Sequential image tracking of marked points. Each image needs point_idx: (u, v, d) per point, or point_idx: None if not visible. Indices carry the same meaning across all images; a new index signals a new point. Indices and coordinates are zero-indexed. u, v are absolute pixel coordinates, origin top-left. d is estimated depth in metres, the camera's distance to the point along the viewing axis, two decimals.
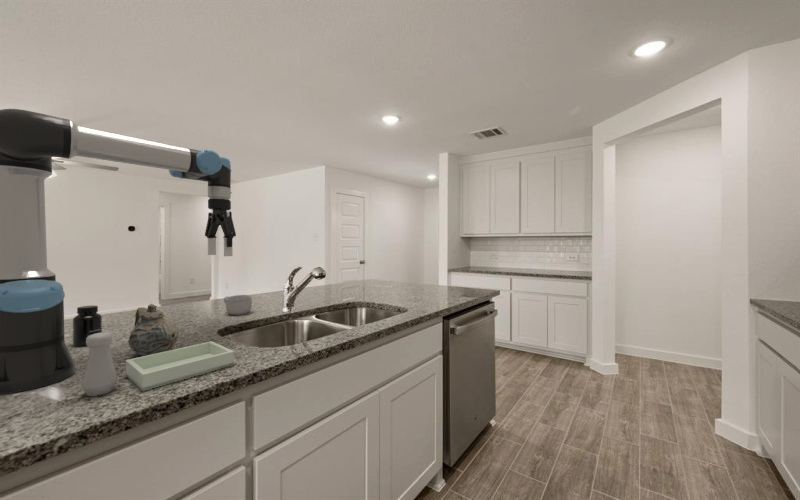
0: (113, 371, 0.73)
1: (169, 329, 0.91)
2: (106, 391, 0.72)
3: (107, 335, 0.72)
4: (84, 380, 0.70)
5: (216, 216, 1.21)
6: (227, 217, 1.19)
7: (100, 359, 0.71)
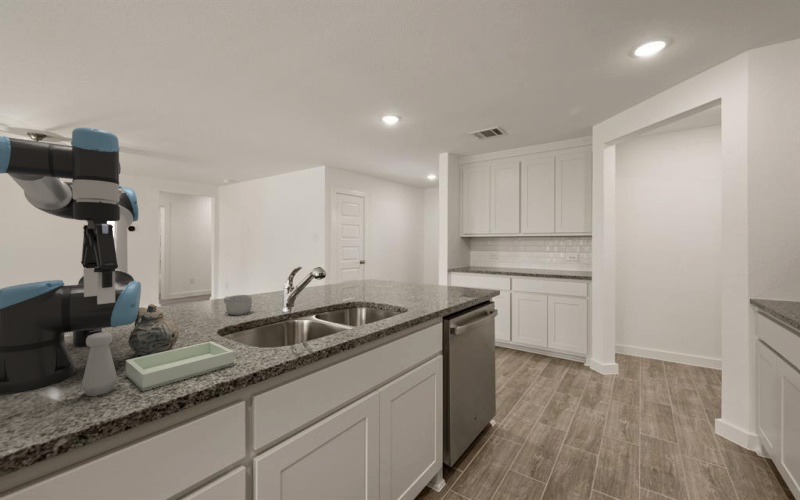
0: (113, 371, 0.73)
1: (169, 329, 0.91)
2: (106, 391, 0.72)
3: (107, 335, 0.73)
4: (84, 380, 0.70)
5: (87, 233, 0.69)
6: (103, 235, 0.67)
7: (100, 359, 0.71)
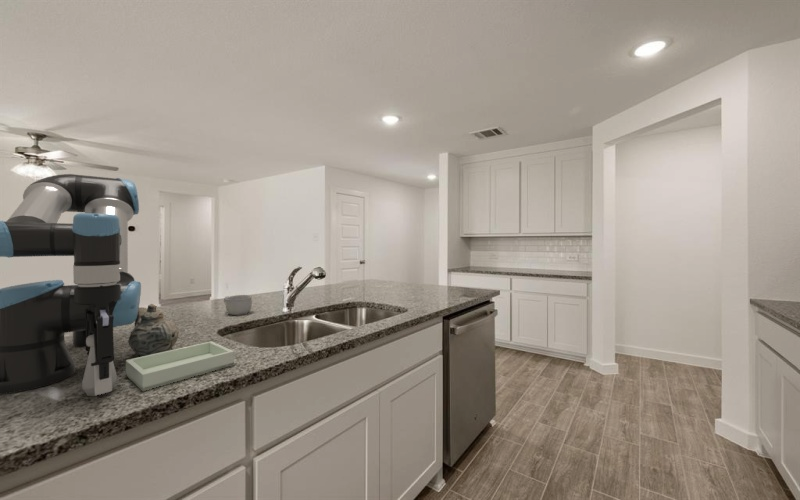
0: (113, 371, 0.73)
1: (169, 329, 0.91)
2: None
3: None
4: (84, 380, 0.70)
5: (88, 318, 0.70)
6: (103, 328, 0.68)
7: None
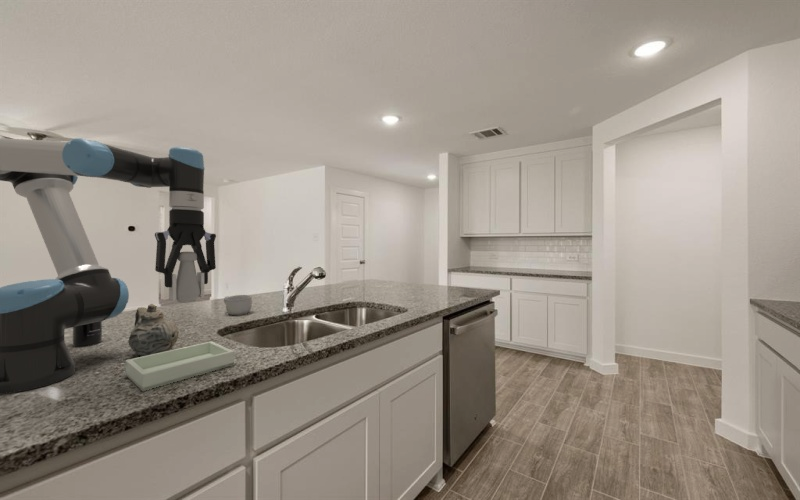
0: (184, 286, 0.84)
1: (169, 329, 0.91)
2: (179, 300, 0.84)
3: (183, 253, 0.84)
4: None
5: None
6: (158, 242, 0.81)
7: (178, 272, 0.84)
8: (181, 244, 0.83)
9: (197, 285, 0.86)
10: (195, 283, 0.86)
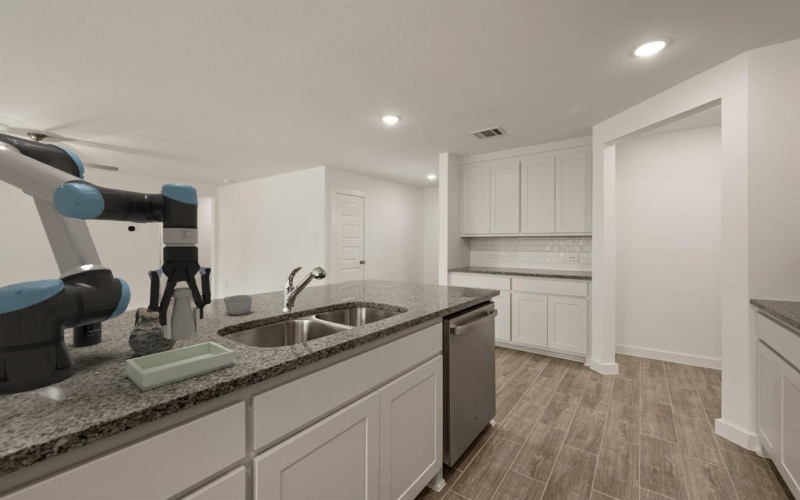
0: (178, 323, 0.83)
1: None
2: (174, 338, 0.83)
3: (177, 290, 0.83)
4: None
5: None
6: (151, 281, 0.80)
7: (173, 309, 0.83)
8: (175, 281, 0.82)
9: (192, 321, 0.85)
10: (190, 320, 0.85)
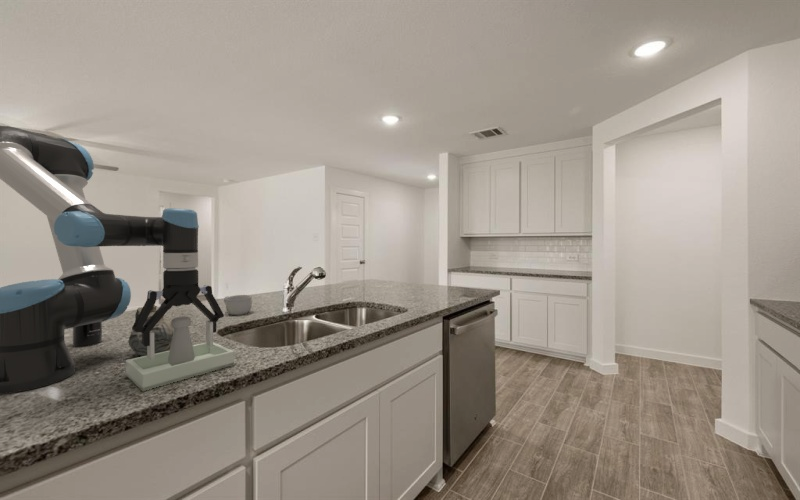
0: (178, 353, 0.83)
1: (169, 329, 0.91)
2: None
3: (176, 320, 0.83)
4: None
5: None
6: (147, 300, 0.79)
7: (172, 339, 0.84)
8: (171, 304, 0.82)
9: (191, 350, 0.85)
10: (189, 349, 0.85)
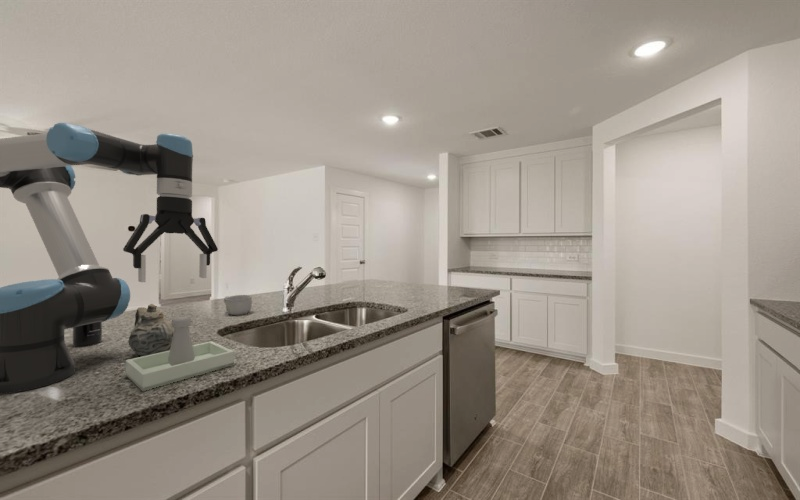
0: (178, 353, 0.83)
1: (169, 329, 0.91)
2: None
3: (177, 320, 0.83)
4: None
5: None
6: (140, 223, 0.79)
7: (173, 338, 0.84)
8: (163, 230, 0.81)
9: (192, 350, 0.85)
10: (189, 349, 0.85)
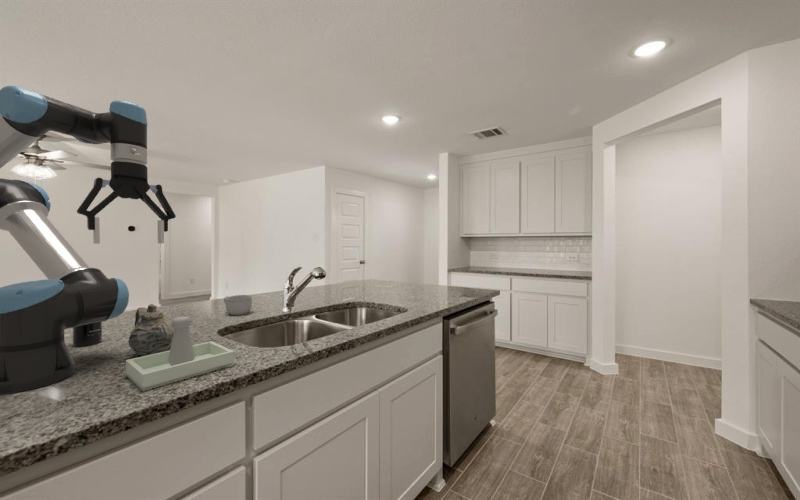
0: (178, 353, 0.83)
1: (169, 329, 0.91)
2: None
3: (177, 320, 0.83)
4: None
5: None
6: (93, 187, 0.82)
7: (173, 338, 0.84)
8: (117, 194, 0.84)
9: (192, 350, 0.85)
10: (189, 349, 0.85)
